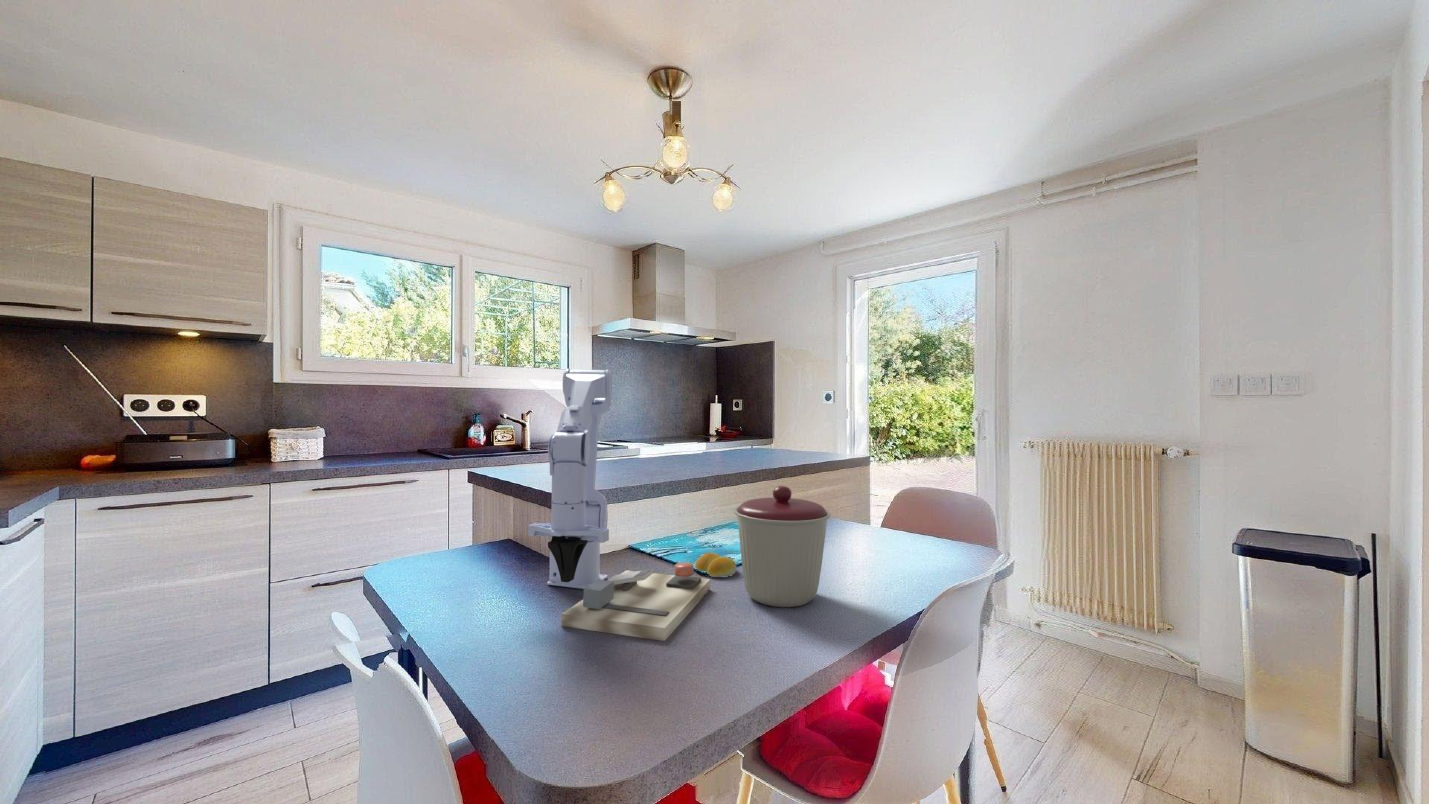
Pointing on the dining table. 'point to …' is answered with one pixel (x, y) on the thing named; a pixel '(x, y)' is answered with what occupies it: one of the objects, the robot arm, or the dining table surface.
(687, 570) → the red push button
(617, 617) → the switch panel
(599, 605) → the grey rectangular block
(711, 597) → the dining table surface
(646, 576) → the grey rocker
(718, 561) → the double yolk fried egg
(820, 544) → the canister
